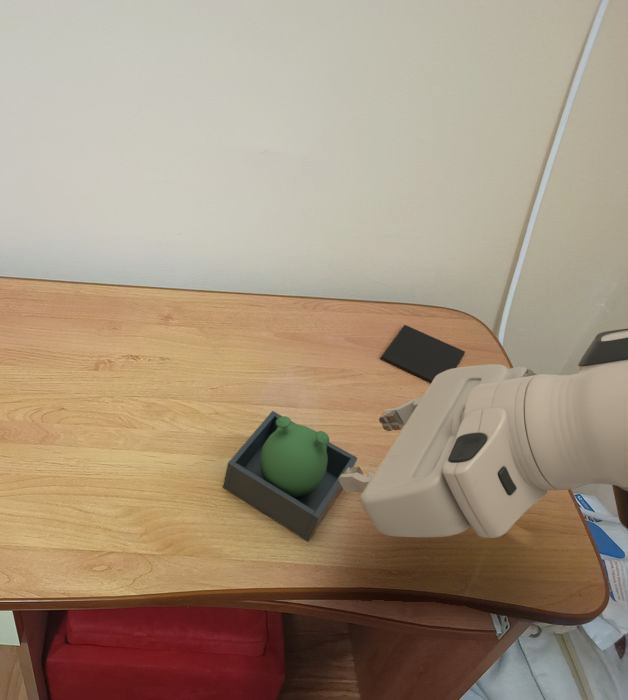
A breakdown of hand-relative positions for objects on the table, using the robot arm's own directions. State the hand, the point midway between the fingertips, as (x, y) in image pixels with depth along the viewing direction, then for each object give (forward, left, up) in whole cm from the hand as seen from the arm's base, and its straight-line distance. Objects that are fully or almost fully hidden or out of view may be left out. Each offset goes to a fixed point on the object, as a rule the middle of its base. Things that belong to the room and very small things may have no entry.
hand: (365, 448), depth 61 cm
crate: (+6, 0, -11) cm, 13 cm away
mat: (+1, -31, -11) cm, 33 cm away
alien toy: (+6, 0, -11) cm, 12 cm away
